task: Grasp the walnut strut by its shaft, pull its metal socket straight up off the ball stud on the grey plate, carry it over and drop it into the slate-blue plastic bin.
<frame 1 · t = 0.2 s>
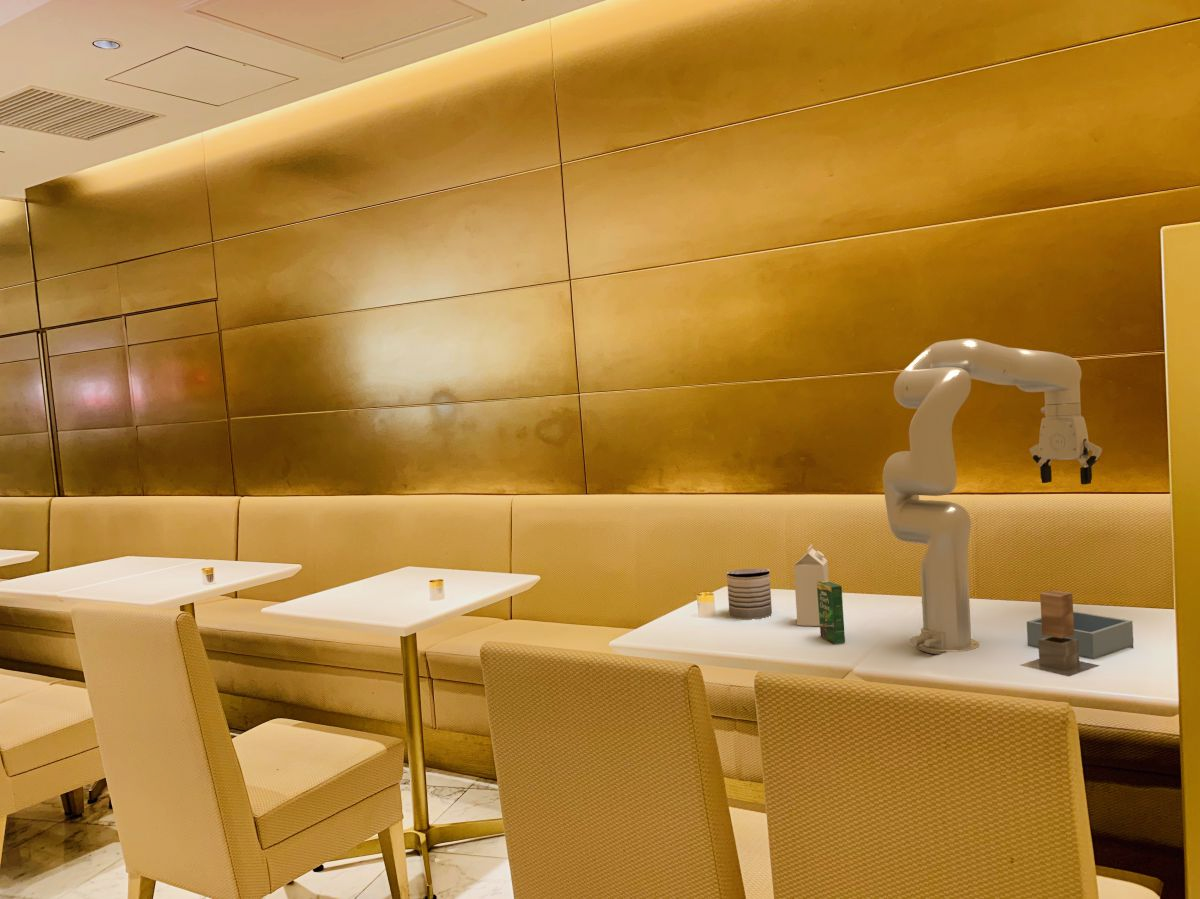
hand: (1066, 483, 215), 31 cm above the table, fingers open, 9 cm apart
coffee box: (832, 640, 206), on the table
can: (750, 615, 235), on the table
milk carton: (814, 623, 222), on the table
bin: (1080, 650, 186), on the table
stud plate: (1059, 670, 174), on the table
strut: (1059, 665, 174), point 1 cm above the table, touching stud plate
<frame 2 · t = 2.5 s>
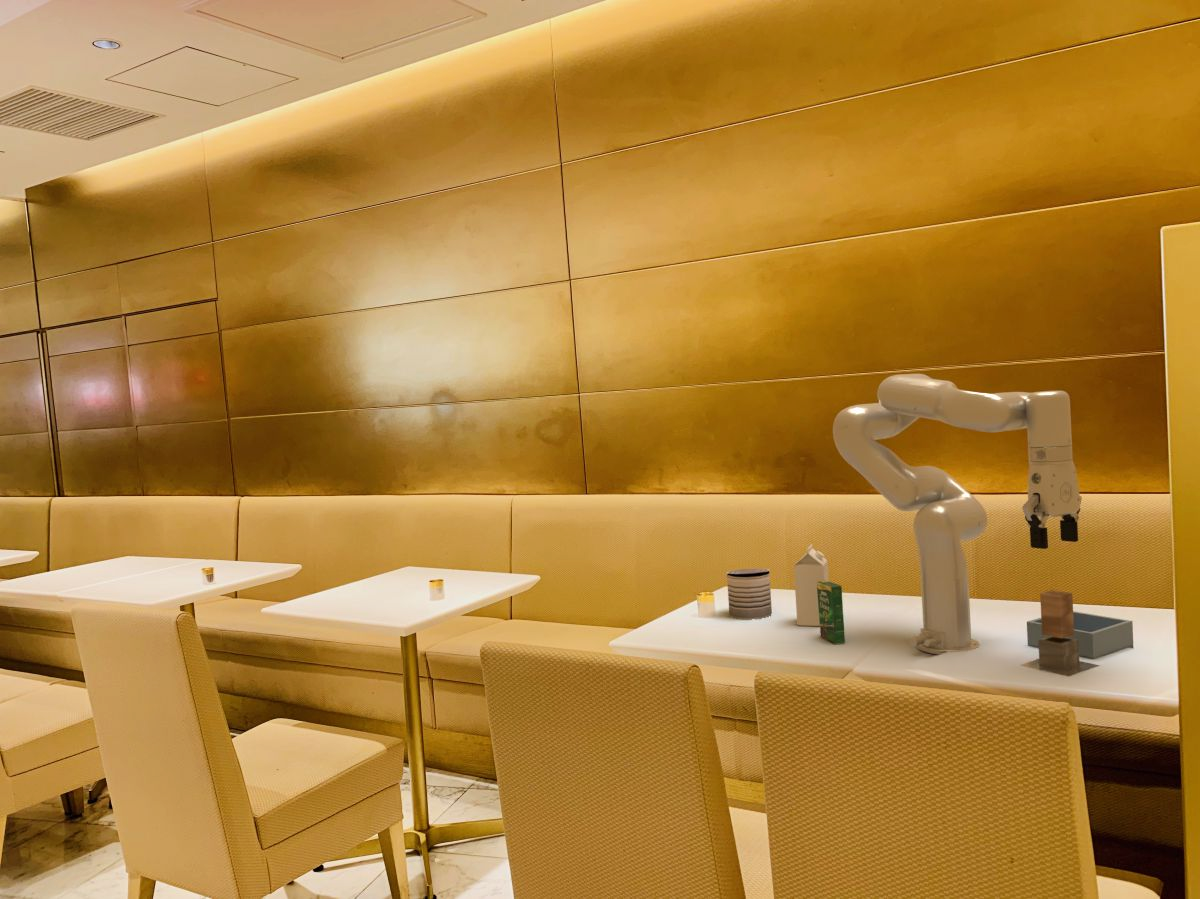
hand: (1054, 544, 173), 24 cm above the table, fingers open, 9 cm apart
nothing on the table moved.
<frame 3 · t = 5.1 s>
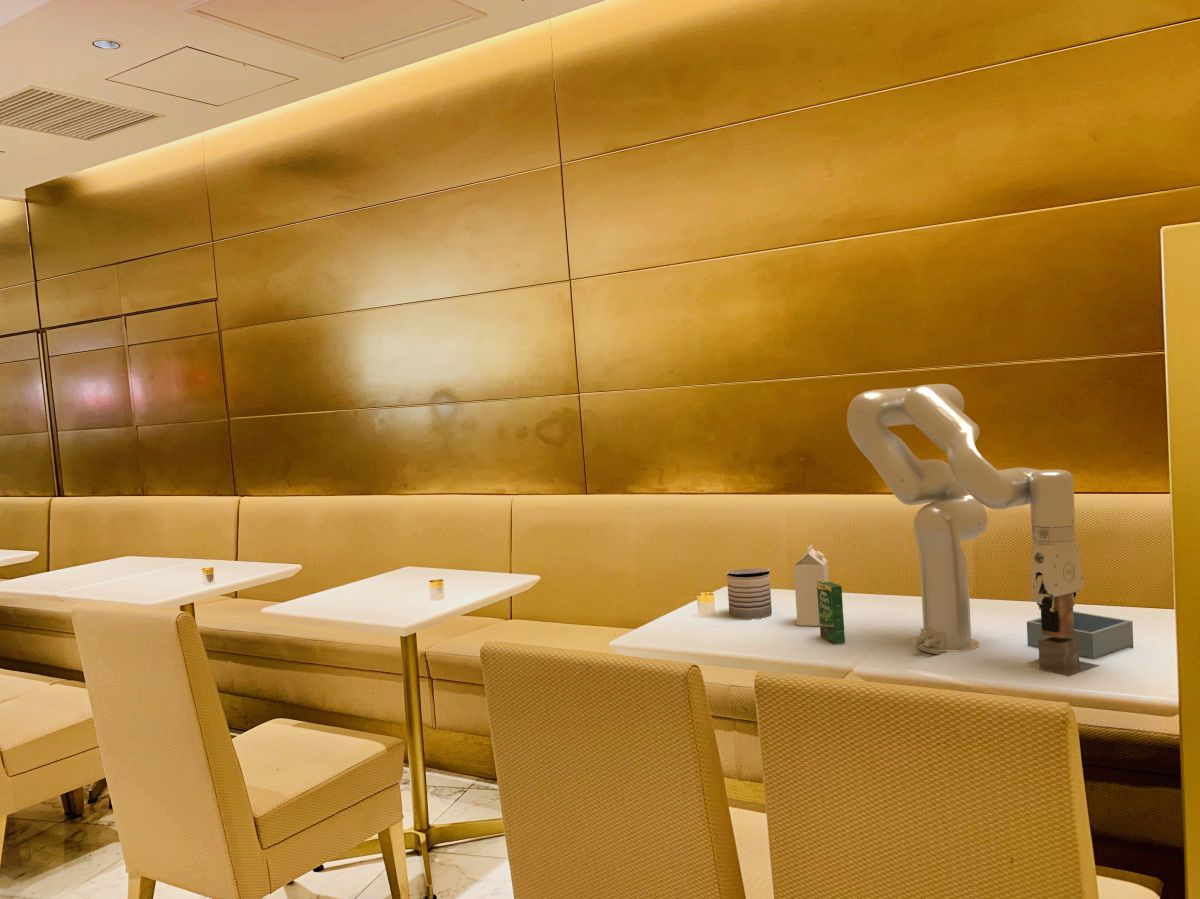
hand: (1057, 627, 174), 8 cm above the table, fingers closed on strut, 4 cm apart
strut: (1059, 665, 174), point 1 cm above the table, touching gripper, stud plate
everything else where it was.
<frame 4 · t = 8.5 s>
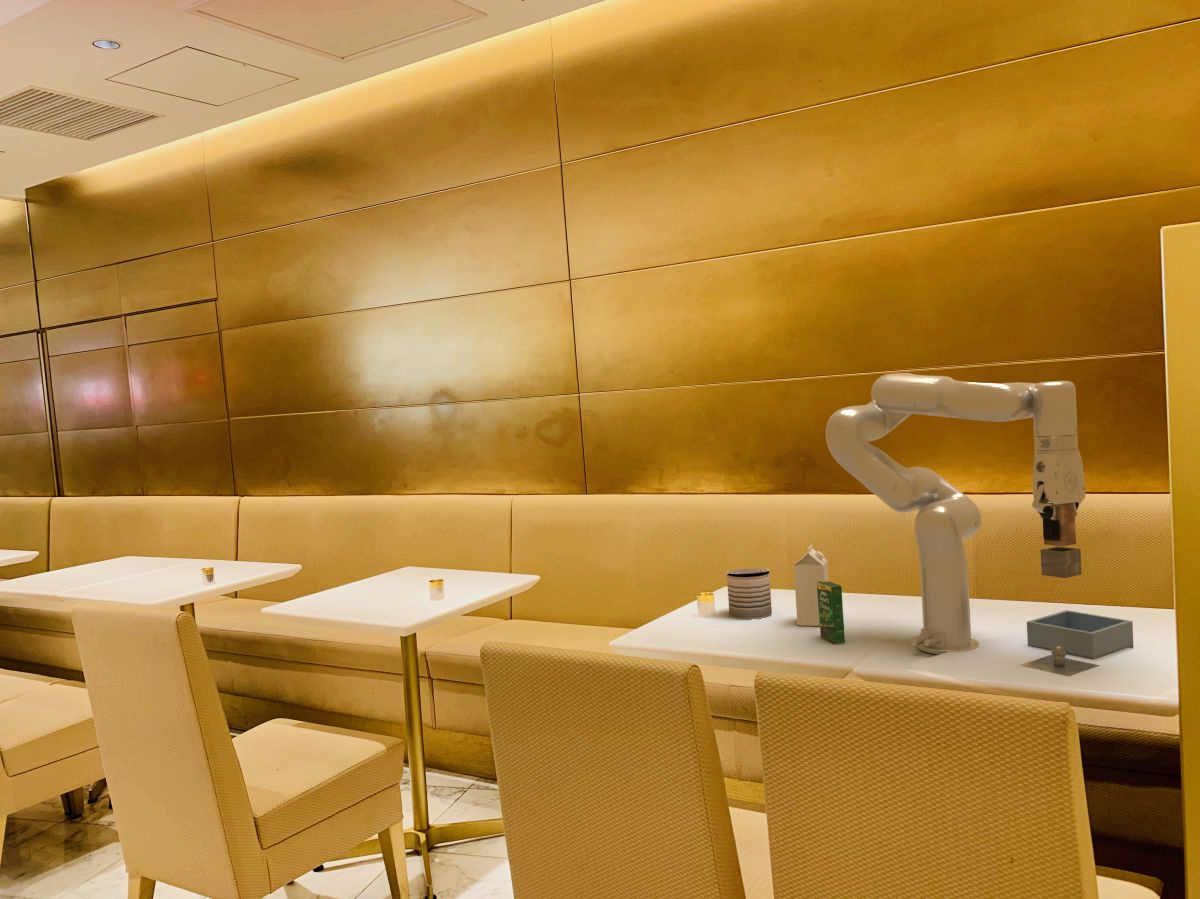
hand: (1059, 537, 176), 25 cm above the table, fingers closed on strut, 4 cm apart
strut: (1061, 574, 176), point 18 cm above the table, touching gripper
everything else where it was.
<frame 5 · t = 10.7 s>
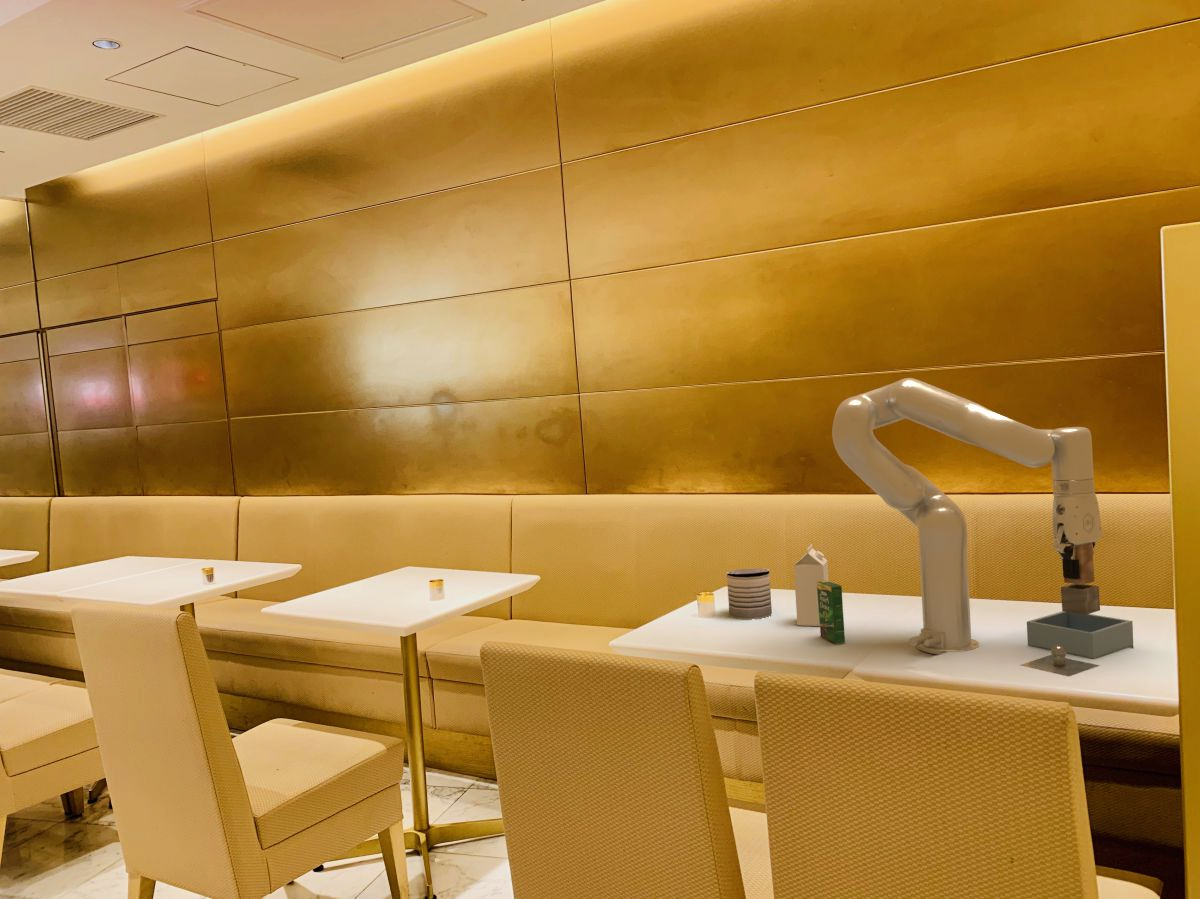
hand: (1078, 575, 185), 16 cm above the table, fingers closed on strut, 4 cm apart
strut: (1081, 610, 185), point 8 cm above the table, touching gripper
everything else where it was.
when the fingers open (11 cm above the table, at t = 12.2 s): strut drops 2 cm, resting on bin.
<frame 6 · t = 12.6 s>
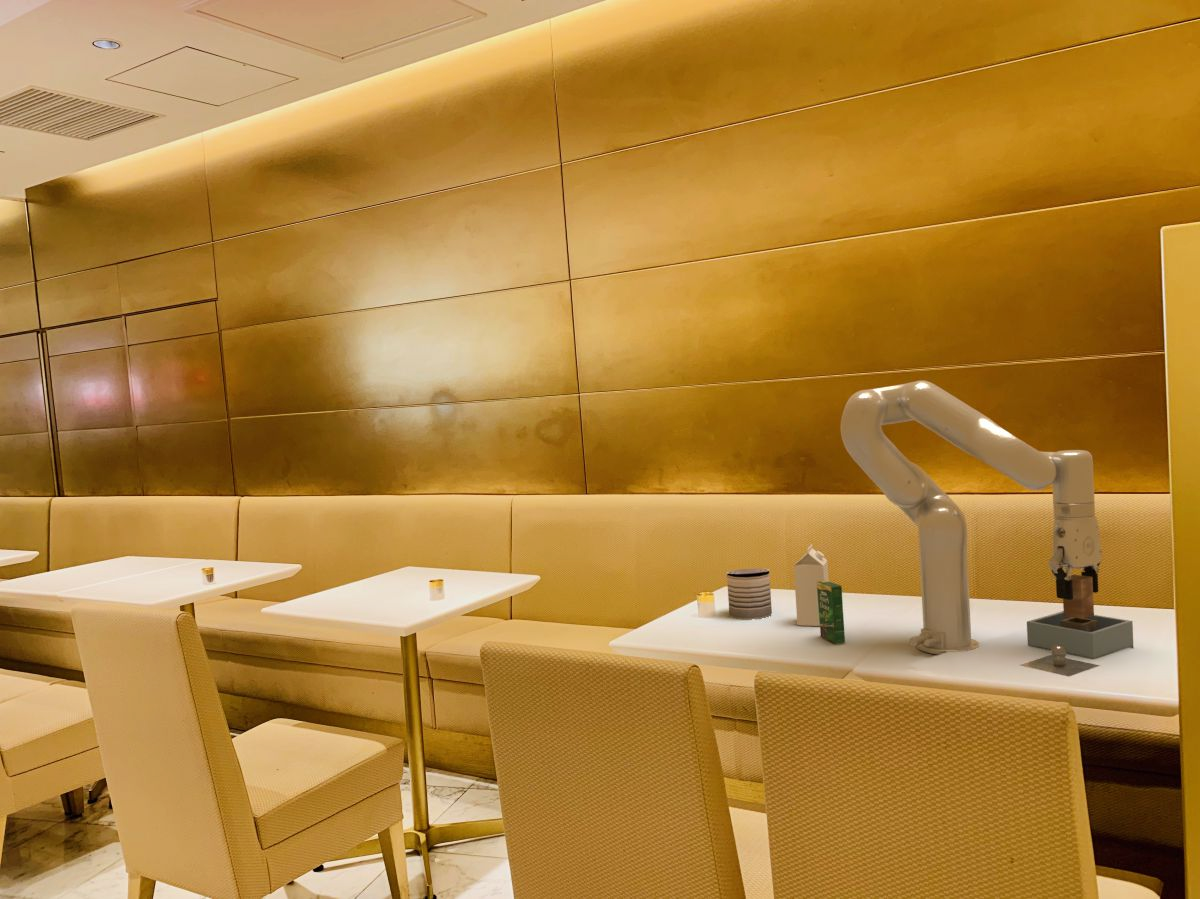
hand: (1077, 594, 185), 12 cm above the table, fingers open, 8 cm apart
strut: (1080, 644, 186), point 1 cm above the table, touching bin
everything else where it was.
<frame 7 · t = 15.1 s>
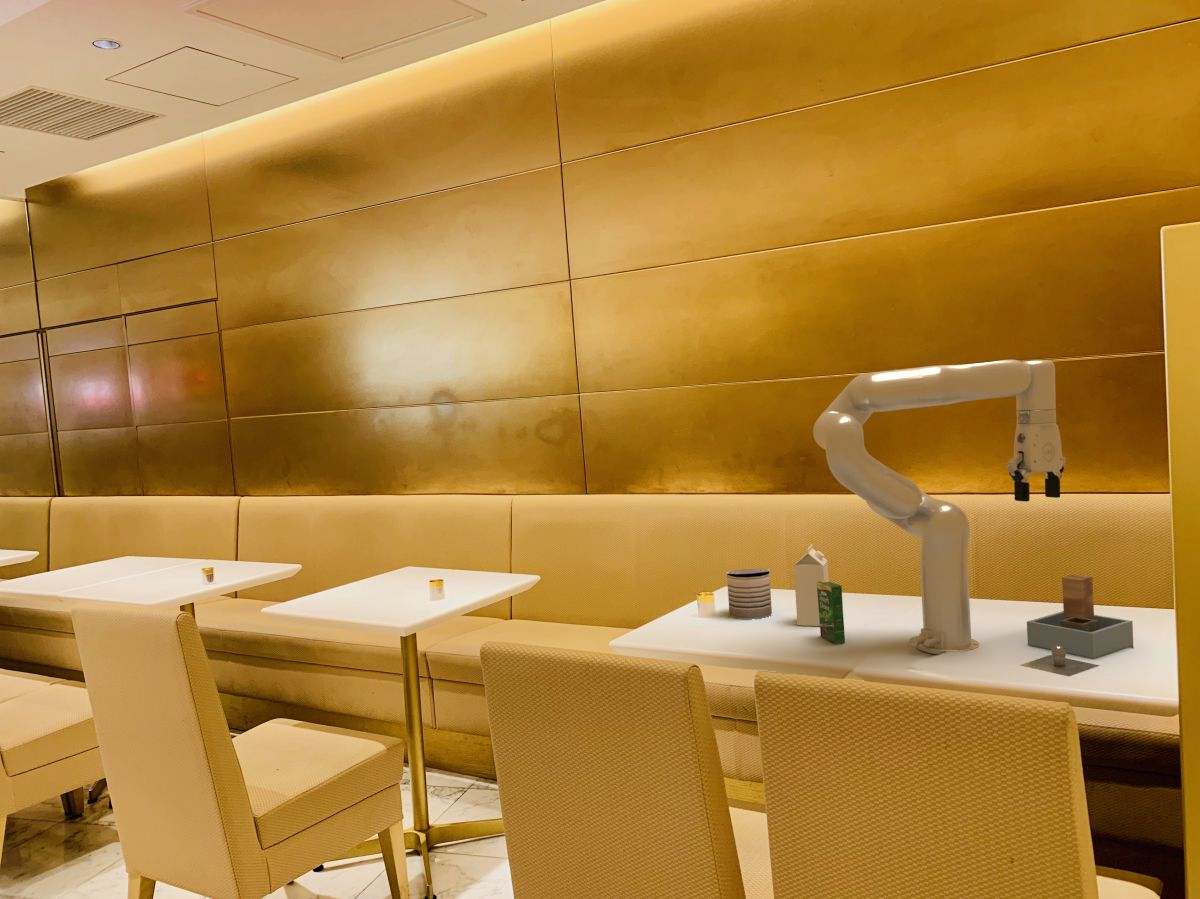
hand: (1037, 499, 192), 31 cm above the table, fingers open, 9 cm apart
nothing on the table moved.
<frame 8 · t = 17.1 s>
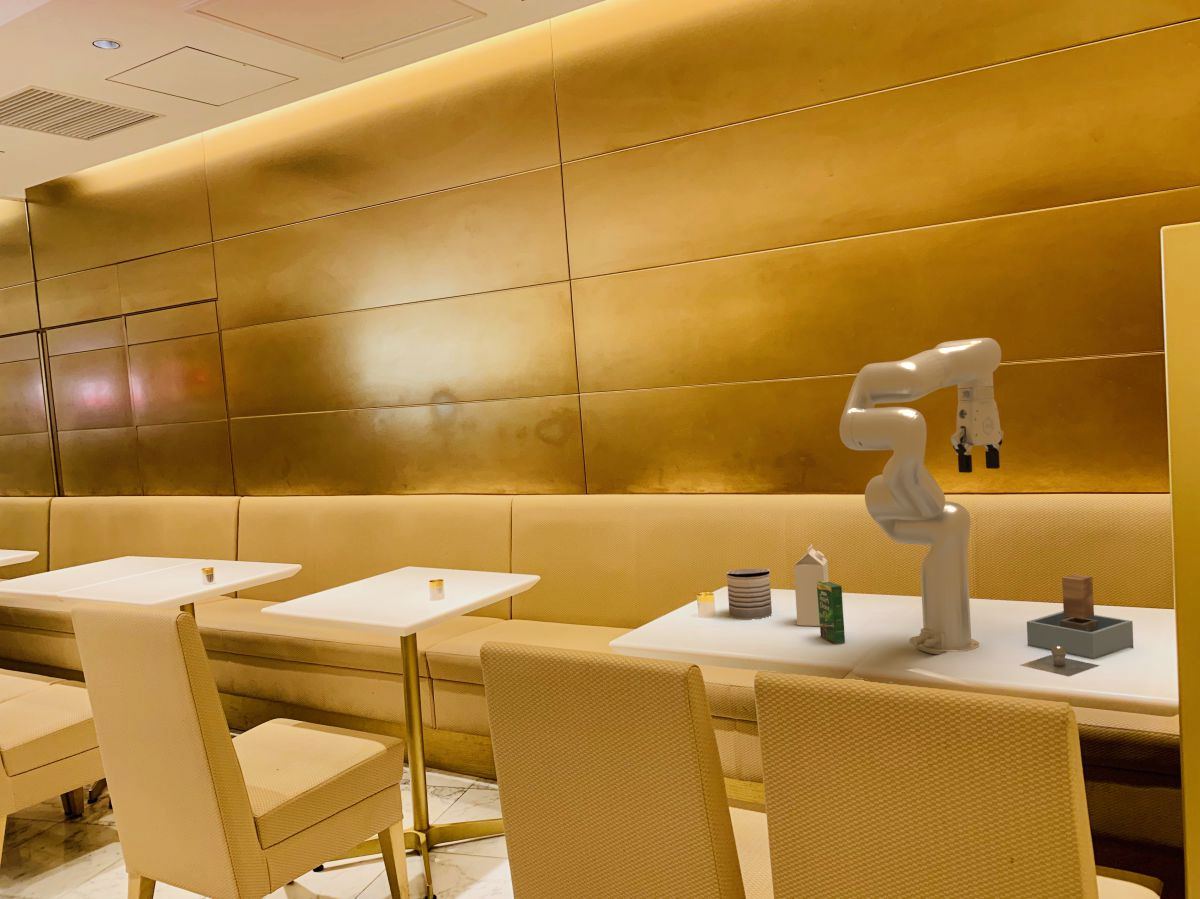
hand: (979, 470, 206), 36 cm above the table, fingers open, 9 cm apart
nothing on the table moved.
at the end: strut inside the target area on the bin (0.1 cm from its centre), point 1.2 cm above the bin's base; the gripper is holding nothing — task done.
